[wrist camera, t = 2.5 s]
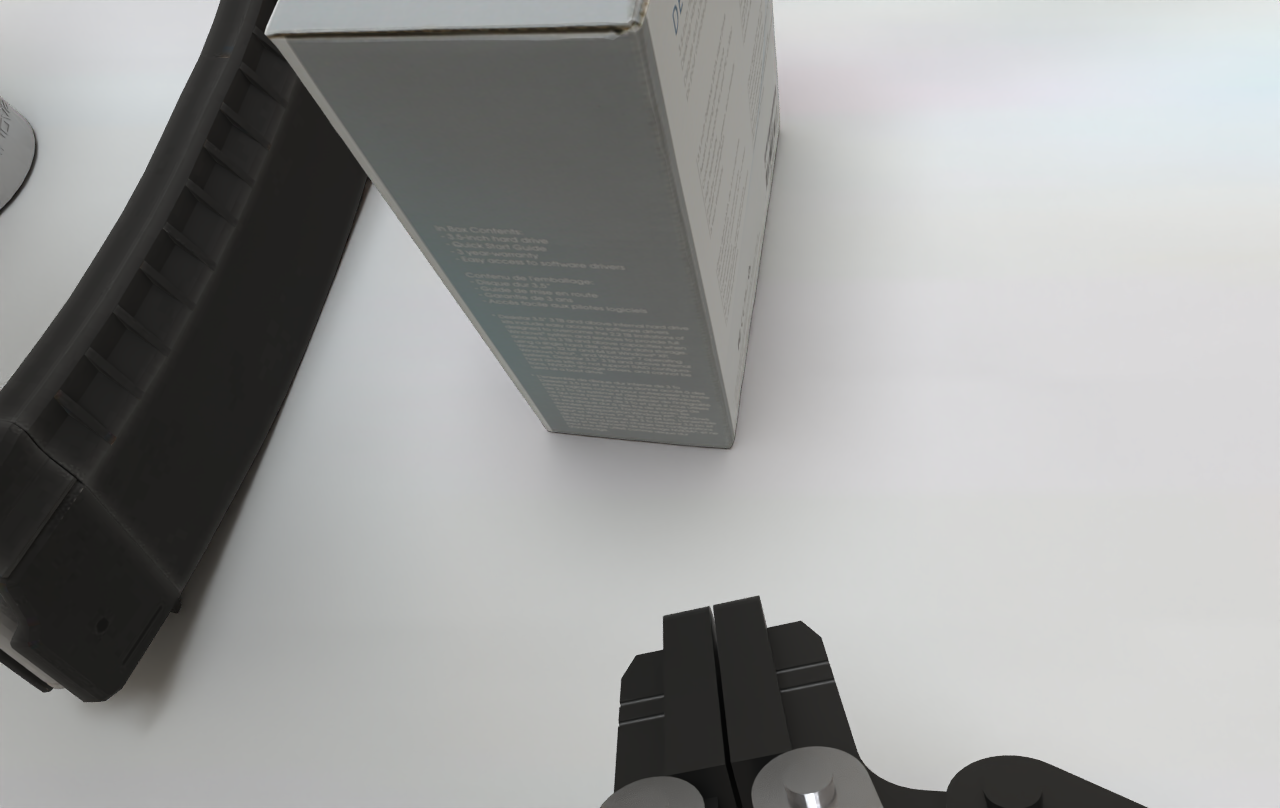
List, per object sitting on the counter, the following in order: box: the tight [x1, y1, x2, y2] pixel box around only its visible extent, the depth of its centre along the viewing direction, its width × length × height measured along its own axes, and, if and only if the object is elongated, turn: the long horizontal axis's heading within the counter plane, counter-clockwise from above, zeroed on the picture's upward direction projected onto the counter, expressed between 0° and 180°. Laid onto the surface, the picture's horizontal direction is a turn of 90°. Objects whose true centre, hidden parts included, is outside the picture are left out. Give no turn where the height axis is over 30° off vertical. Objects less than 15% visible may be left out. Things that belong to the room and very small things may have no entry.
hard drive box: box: [264, 0, 780, 448], centre depth 28 cm, size 16×8×20 cm, turn 170°
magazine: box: [0, 0, 368, 702], centre depth 34 cm, size 17×3×30 cm
